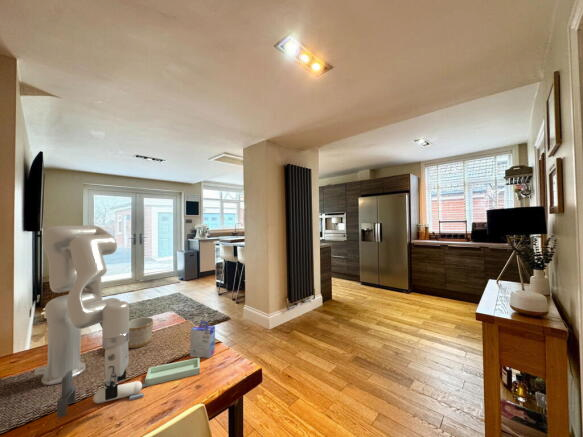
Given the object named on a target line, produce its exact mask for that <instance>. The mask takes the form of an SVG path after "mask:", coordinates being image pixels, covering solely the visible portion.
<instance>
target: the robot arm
mask: <svg viewBox="0 0 583 437" xmlns="http://www.w3.org/2000/svg"><path fill="white" fill-rule="evenodd" d="M41 243H42V247H43V250H44V252H45V255H46V257H47V260H48V278H49V281H48V282H49V287H50V290H51V291H52V292H53V293H59V294H60V293H67V292H68V294H65V295H61V296H57V297H55V298H52V299H50V300H49V301H48V302H47V303H46V305H45V307H44V313H45V318H46V322H47V323H46V324H47V365H46V366H41V367H35V369H34V376H35V377H37V376H38V377H39V376H42V377H41V384H43V385H47V386H48V385H50V386H51V385H56V384H60V383H61V384H62V378H63V377H64V376H65V375H66V373H67V372H68V371H71V370H72V379H73V378H75V377H77V376H79V375H81V374H82V373H83V372H84V371H85V370H86V363H85V362H82V361H81V359H82V358H81V356H82V354H81V350H82V348H81V347H82V346H81V345H82V344H81V343H82V330H83V329H87V328H89V327H92V326H95V325H98V324H101V323H102V326H101V327H102V330H101V331H102V334H101V335H102V342H101V346H102V348H103V349H104V350H105V351H104V359H103V360H104V364H103V375H104V376H103V378H104V379H105V380H104V382H105V383H104V388H105V400H109V399H113V398H116V397H117V396H118V385H119V384H117V382H119V381H120V382H121V381H124V380H126V379H127V367H128V365H129V362H130V354H129V348H128V341H129V321H130V304H129V303H128V302H127V301H121V300H120V299H118V298H116V297H111V298H107V299H103V291H102V290H103V288H102V285H103V284H102V277H103V276H104V275H105V274H106V273H107V272H108V271H107V270H108V269H107V265H106V263H105V260H104V257H103V256H108V255H113V254H114V253H115V252H117V248H118V243H117V241H116V239H115V238H114V236H113V234H111V233H110V232H108V231H107V230H105V229H104V228H102V227H101V226H97V225H57V226H51V227H48V228H47V229H46V230H44V231H43V234H42V237H41ZM112 379H113V380H112Z"/></svg>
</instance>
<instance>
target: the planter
mask: <svg viewBox="0 0 583 437" xmlns="http://www.w3.org/2000/svg"><path fill="white" fill-rule="evenodd" d="M153 325H154V319H153V318H152V317H139V318H135V319H134V318H133V319H131V320H129V341H128V349H137V348H142V347H144V346H146V345H147V344H149V343H150V341H152V335H153V334H152V333H153Z"/></svg>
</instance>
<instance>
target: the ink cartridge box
mask: <svg viewBox="0 0 583 437" xmlns="http://www.w3.org/2000/svg"><path fill="white" fill-rule="evenodd" d="M208 324H209V321H204V320H201V321H200V323H199V325H195V326H194V327H192V329H190V338H189V344H190V345H189V357H191V358H192V357H193V358H199V357H200V358H209V359H210V358H211V357H212V356H213V355H214V353H215V352H216V325H208Z"/></svg>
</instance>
